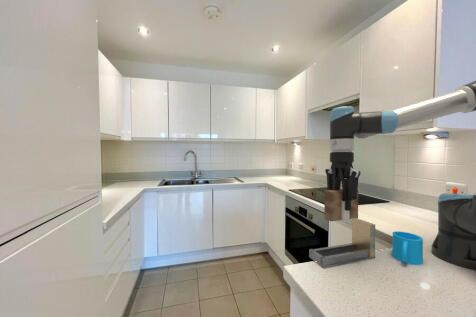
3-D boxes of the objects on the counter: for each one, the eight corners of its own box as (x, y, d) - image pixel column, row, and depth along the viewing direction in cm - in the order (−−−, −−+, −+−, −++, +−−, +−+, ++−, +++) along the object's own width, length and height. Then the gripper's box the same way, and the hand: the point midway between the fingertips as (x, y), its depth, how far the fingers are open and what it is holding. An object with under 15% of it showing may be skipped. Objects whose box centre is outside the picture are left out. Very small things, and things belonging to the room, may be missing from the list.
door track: (356, 248, 77) (357, 218, 77) (375, 258, 70) (375, 224, 69) (309, 257, 70) (309, 223, 70) (324, 268, 63) (324, 231, 63)
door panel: (351, 215, 73) (351, 188, 73) (358, 218, 70) (358, 190, 70) (324, 218, 69) (324, 190, 69) (330, 221, 66) (330, 191, 66)
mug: (394, 250, 75) (394, 229, 75) (423, 258, 69) (423, 235, 69) (388, 262, 67) (388, 238, 67) (421, 272, 61) (421, 246, 61)
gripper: (317, 152, 76) (316, 212, 76) (352, 150, 61) (352, 226, 61) (332, 152, 78) (332, 211, 78) (371, 151, 63) (370, 224, 63)
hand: (341, 217), depth 69 cm, fingers closed on door panel, 3 cm apart
